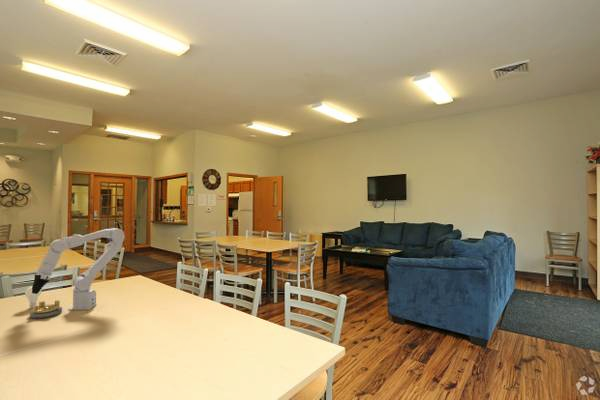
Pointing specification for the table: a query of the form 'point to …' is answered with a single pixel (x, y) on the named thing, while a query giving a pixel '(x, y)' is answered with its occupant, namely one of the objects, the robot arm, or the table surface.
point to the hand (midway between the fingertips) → (34, 291)
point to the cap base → (45, 314)
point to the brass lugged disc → (46, 307)
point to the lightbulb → (32, 296)
